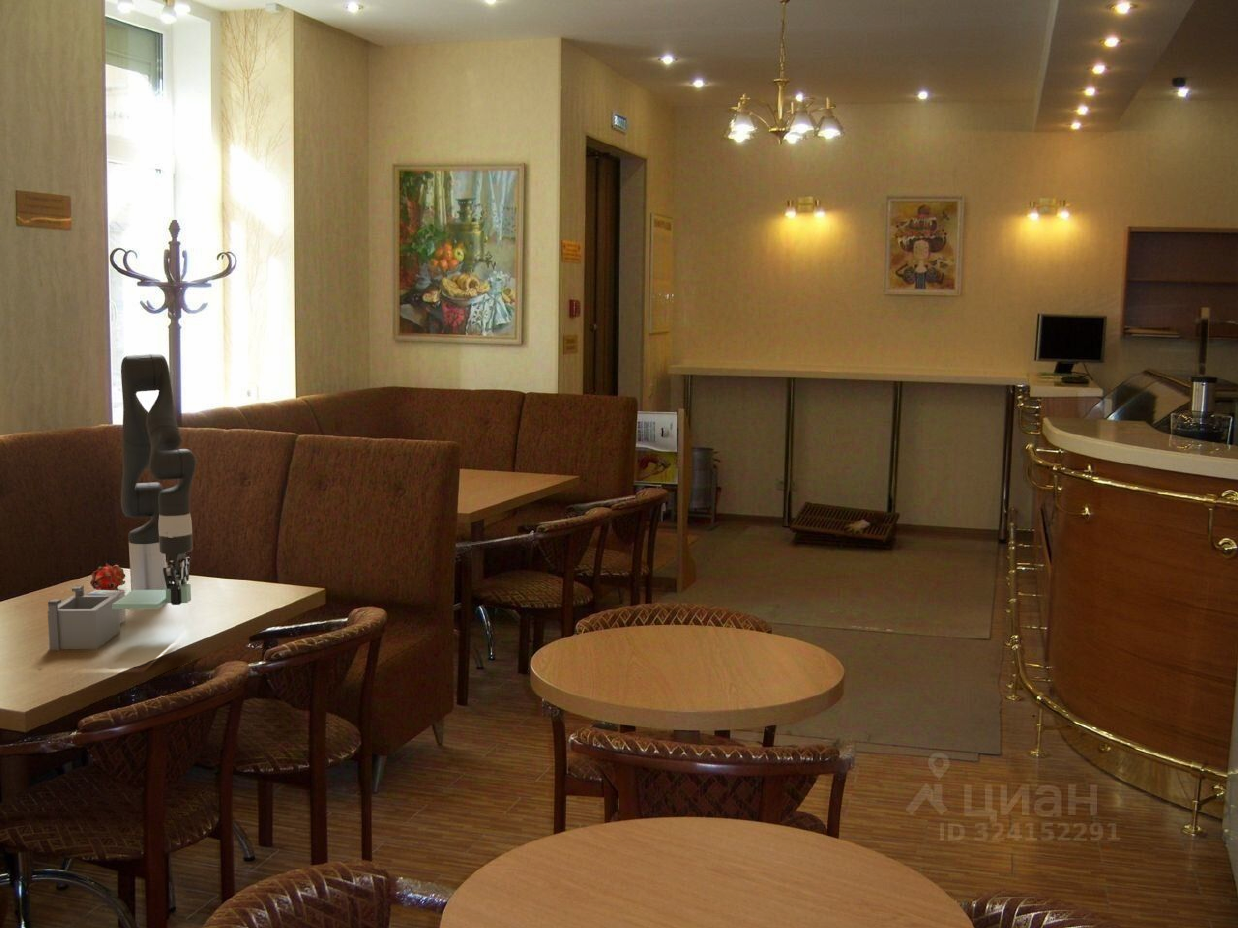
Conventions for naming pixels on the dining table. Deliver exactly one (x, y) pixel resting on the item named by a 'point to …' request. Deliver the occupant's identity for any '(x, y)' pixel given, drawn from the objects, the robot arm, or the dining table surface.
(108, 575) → the dragon fruit
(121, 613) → the medicine box
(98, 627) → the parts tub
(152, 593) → the snap lid
